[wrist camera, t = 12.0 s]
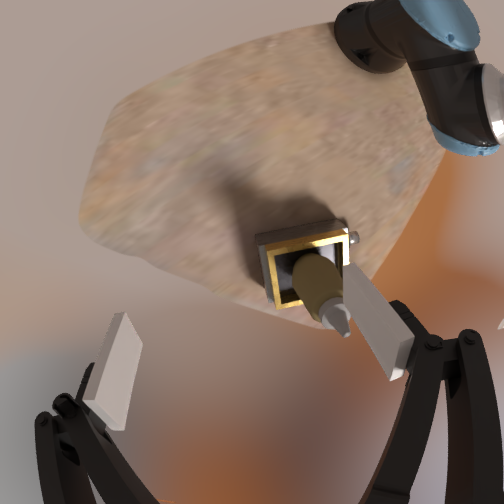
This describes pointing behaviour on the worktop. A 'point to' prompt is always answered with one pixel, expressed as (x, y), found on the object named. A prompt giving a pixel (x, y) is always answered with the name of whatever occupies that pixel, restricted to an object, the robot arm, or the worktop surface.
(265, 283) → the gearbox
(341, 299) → the squeeze bottle
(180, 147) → the worktop surface
